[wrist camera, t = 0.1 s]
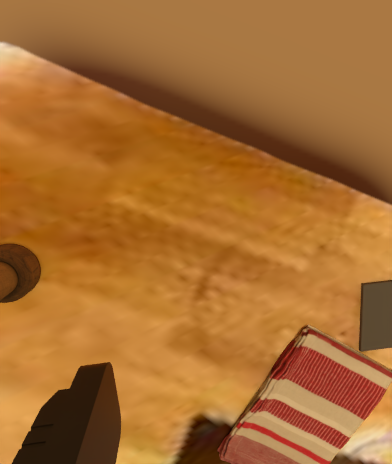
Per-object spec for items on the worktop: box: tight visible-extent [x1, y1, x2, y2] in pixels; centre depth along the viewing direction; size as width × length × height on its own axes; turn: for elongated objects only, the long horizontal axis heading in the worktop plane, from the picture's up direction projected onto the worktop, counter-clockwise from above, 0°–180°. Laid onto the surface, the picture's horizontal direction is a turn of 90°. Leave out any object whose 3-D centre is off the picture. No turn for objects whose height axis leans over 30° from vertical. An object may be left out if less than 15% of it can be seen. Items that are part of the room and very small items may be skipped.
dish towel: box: [218, 325, 392, 464], centre depth 44 cm, size 17×23×3 cm
